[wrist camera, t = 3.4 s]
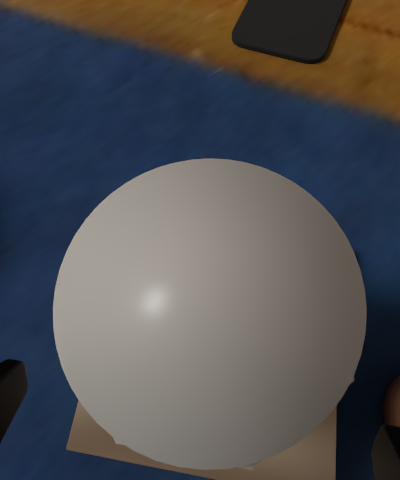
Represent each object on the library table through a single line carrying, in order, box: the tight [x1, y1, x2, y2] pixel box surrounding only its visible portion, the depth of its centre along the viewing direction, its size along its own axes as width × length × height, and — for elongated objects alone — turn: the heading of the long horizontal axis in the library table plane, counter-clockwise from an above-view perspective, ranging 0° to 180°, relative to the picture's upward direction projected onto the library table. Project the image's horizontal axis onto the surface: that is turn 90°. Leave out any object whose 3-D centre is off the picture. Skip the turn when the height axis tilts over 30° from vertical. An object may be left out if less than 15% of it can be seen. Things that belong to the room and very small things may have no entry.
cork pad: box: [66, 401, 337, 480], centre depth 19 cm, size 12×12×2 cm
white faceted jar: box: [53, 159, 367, 470], centre depth 13 cm, size 8×8×10 cm
